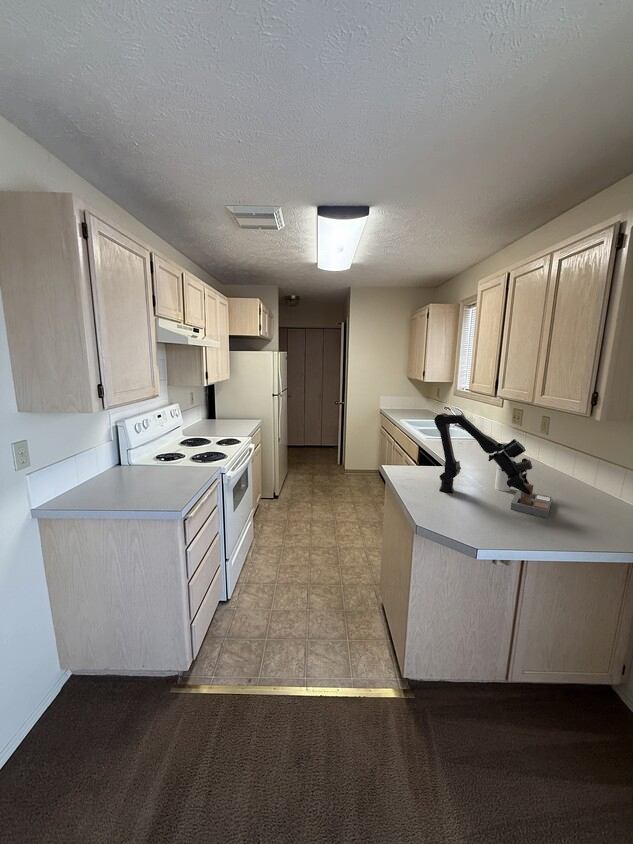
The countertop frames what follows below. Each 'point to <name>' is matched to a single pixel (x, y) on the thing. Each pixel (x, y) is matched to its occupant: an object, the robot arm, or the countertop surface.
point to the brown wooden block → (525, 497)
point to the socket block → (532, 504)
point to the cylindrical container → (502, 474)
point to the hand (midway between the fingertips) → (530, 492)
